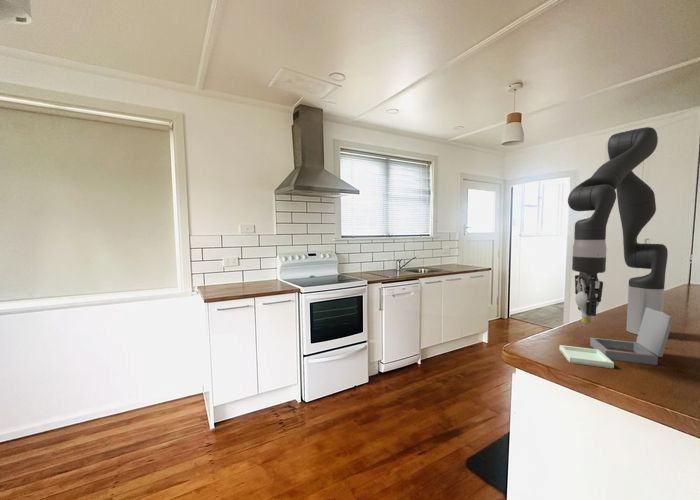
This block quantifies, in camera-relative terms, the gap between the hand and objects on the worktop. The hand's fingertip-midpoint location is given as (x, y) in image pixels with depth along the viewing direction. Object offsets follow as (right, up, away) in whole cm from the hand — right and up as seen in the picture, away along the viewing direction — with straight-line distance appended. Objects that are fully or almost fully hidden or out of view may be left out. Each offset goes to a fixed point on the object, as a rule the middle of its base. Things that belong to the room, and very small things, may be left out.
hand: (586, 312), depth 85 cm
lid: (+20, -5, +1) cm, 21 cm away
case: (+14, -14, +4) cm, 20 cm away
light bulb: (0, -4, 0) cm, 4 cm away
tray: (0, -14, +1) cm, 14 cm away
